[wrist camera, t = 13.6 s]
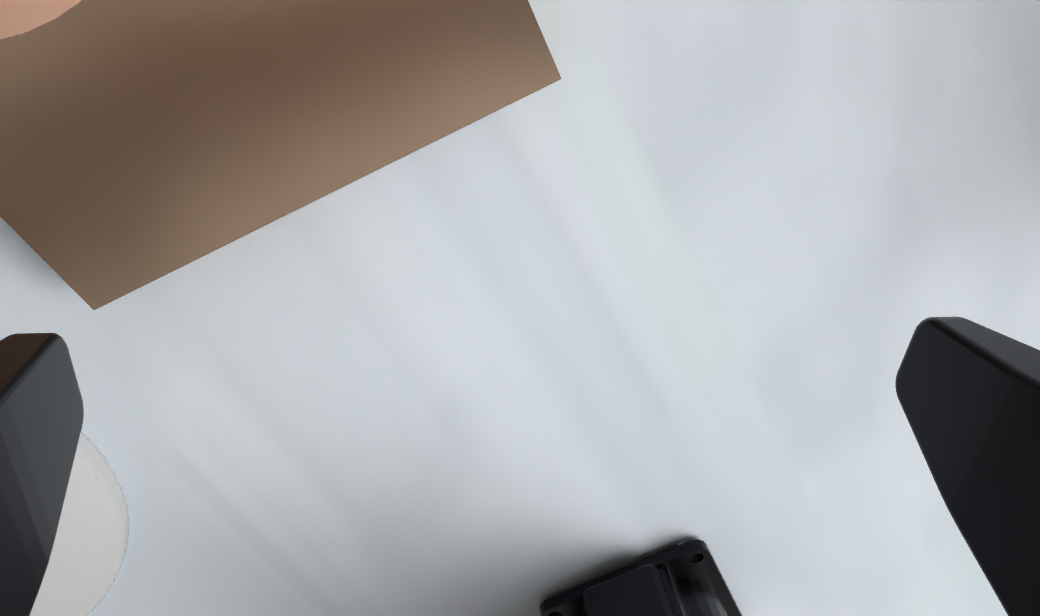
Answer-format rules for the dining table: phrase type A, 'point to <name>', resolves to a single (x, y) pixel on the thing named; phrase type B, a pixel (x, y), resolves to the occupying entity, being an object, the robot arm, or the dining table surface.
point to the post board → (231, 116)
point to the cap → (29, 14)
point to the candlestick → (85, 539)
